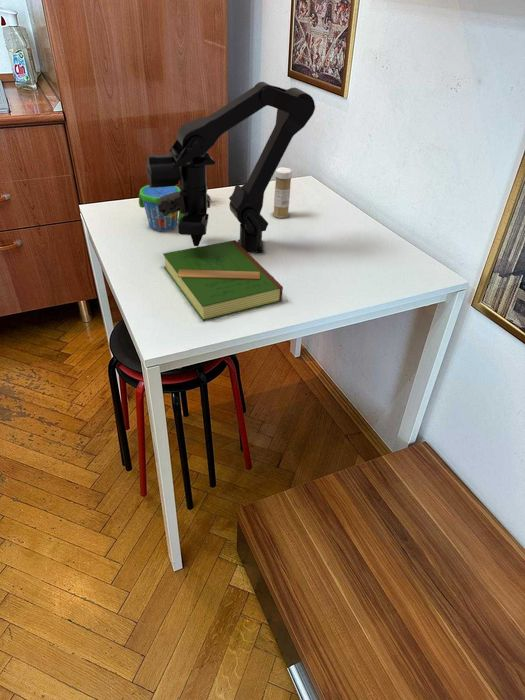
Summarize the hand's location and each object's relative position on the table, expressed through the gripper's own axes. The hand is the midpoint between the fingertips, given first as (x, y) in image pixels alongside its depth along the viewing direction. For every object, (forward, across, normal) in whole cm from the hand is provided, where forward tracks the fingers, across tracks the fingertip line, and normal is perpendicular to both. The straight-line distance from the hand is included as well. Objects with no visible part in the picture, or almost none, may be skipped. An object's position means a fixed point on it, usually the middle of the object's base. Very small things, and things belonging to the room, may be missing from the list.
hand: (196, 245), depth 126 cm
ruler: (-1, +17, +6) cm, 18 cm away
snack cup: (+2, -16, -10) cm, 19 cm away
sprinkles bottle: (+3, -26, +22) cm, 34 cm away
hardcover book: (+2, +14, +6) cm, 15 cm away
